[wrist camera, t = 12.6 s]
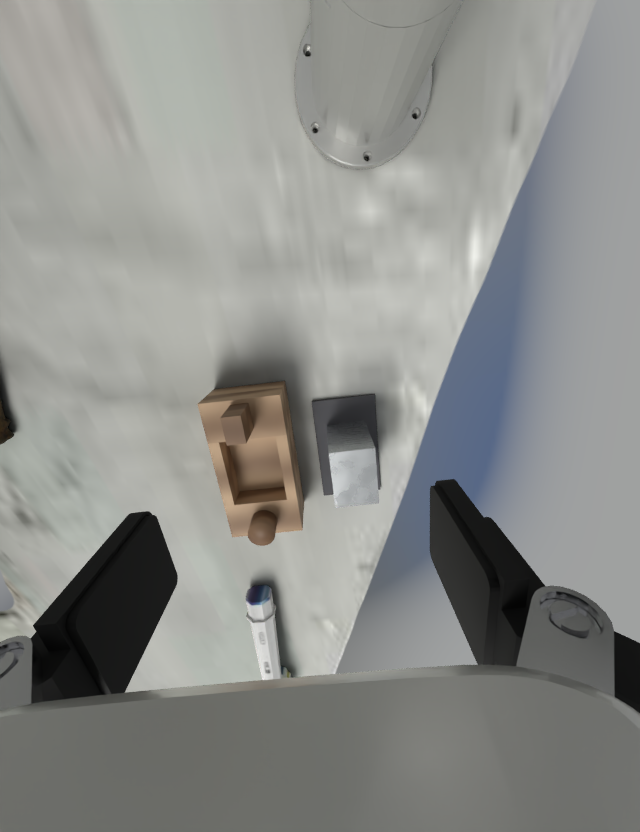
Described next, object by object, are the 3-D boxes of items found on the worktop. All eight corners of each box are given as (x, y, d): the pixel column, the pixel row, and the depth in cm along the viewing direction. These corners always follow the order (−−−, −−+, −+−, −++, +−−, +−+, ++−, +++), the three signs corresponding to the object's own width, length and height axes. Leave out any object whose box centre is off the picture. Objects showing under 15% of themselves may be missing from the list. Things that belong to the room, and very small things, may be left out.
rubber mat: (311, 401, 41) (311, 401, 41) (374, 393, 41) (374, 394, 40) (323, 493, 46) (324, 495, 45) (379, 487, 46) (380, 489, 45)
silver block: (326, 425, 42) (328, 453, 34) (364, 420, 42) (375, 448, 34) (332, 472, 44) (335, 507, 37) (368, 468, 44) (379, 503, 36)
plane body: (214, 389, 40) (183, 417, 31) (285, 381, 40) (275, 406, 31) (242, 508, 47) (224, 561, 37) (304, 501, 46) (300, 553, 37)
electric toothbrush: (273, 602, 48) (291, 731, 53) (279, 571, 55) (294, 688, 60) (238, 605, 48) (260, 733, 54) (248, 573, 55) (266, 690, 60)
